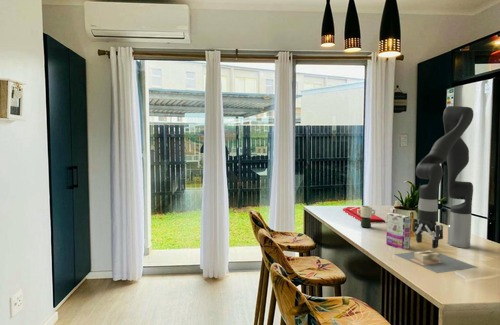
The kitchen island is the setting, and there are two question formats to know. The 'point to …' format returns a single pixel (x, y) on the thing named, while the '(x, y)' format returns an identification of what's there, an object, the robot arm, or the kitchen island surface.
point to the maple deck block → (426, 256)
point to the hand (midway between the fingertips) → (426, 245)
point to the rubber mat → (439, 263)
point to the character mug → (365, 215)
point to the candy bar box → (398, 230)
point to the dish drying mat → (353, 212)
